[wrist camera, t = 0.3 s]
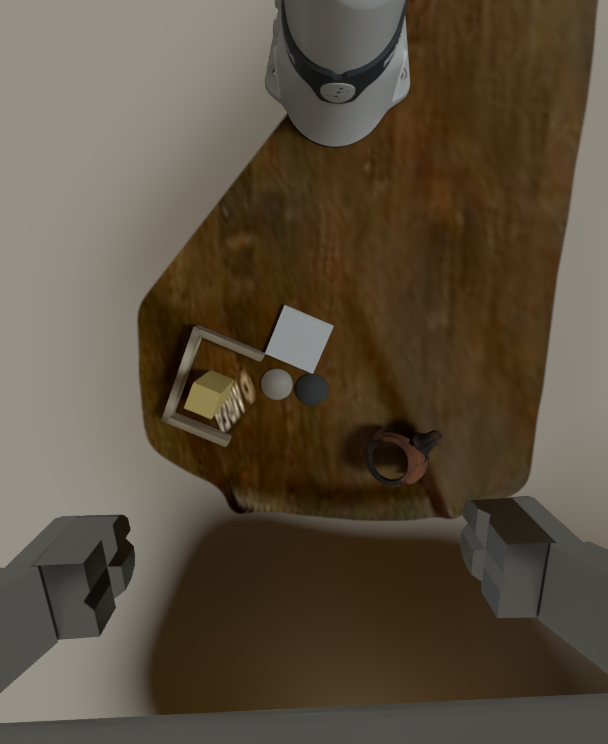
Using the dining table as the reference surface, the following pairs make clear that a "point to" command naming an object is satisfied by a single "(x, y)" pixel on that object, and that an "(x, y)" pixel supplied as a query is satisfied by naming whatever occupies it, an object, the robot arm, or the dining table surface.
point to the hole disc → (311, 389)
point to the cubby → (181, 378)
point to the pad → (299, 339)
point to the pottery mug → (414, 454)
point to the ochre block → (208, 394)
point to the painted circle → (276, 384)
